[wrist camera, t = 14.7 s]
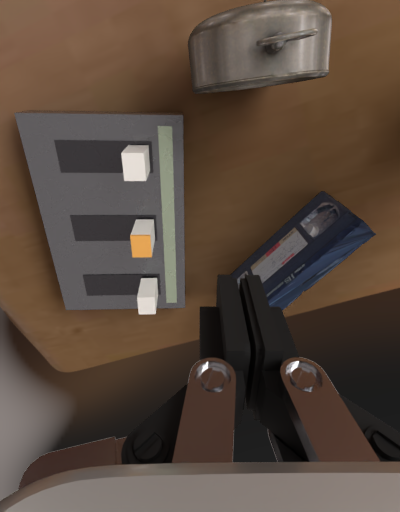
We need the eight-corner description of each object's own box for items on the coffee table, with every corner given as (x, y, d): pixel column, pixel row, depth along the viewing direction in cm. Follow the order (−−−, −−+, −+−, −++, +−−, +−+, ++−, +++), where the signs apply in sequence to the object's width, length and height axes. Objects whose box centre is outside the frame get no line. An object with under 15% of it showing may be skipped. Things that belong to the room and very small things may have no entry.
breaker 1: (148, 145, 30) (144, 153, 26) (150, 170, 31) (146, 181, 28) (128, 145, 30) (121, 152, 26) (130, 170, 31) (124, 181, 28)
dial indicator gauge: (191, 95, 31) (198, 103, 17) (184, 30, 28) (186, -23, 14) (296, 82, 31) (391, 80, 17) (299, 16, 28) (416, -52, 14)
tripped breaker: (153, 219, 34) (150, 235, 30) (154, 239, 35) (151, 257, 31) (136, 219, 34) (130, 235, 30) (137, 239, 35) (132, 257, 31)
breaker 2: (157, 277, 38) (154, 297, 34) (158, 293, 39) (155, 314, 36) (141, 278, 38) (137, 297, 34) (142, 294, 39) (138, 314, 36)
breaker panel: (183, 112, 32) (183, 115, 29) (184, 294, 44) (185, 308, 41) (28, 110, 31) (13, 112, 28) (73, 296, 43) (65, 310, 40)
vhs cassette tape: (322, 188, 37) (365, 219, 28) (336, 203, 38) (381, 238, 29) (217, 281, 43) (226, 330, 34) (232, 292, 44) (243, 342, 35)
